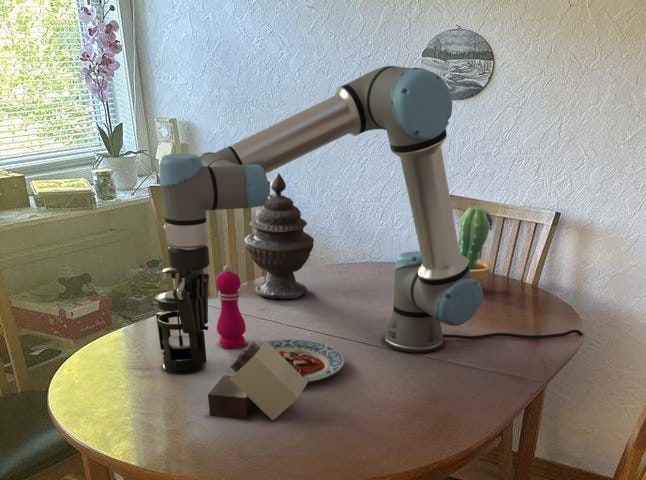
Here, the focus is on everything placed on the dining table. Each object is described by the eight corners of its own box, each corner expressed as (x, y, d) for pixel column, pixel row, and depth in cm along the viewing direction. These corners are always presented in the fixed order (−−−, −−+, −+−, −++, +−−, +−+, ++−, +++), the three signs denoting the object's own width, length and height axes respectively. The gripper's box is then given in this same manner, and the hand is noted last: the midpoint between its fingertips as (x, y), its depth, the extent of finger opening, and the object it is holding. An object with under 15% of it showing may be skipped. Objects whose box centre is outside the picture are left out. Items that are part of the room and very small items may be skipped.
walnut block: (261, 399, 153) (260, 378, 150) (246, 420, 144) (245, 398, 142) (225, 395, 154) (224, 374, 151) (209, 416, 145) (207, 394, 143)
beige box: (308, 406, 150) (306, 339, 142) (299, 423, 144) (296, 354, 136) (241, 400, 152) (235, 334, 144) (229, 416, 146) (222, 348, 138)
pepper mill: (241, 351, 175) (235, 270, 165) (213, 348, 177) (206, 268, 166) (250, 340, 181) (246, 262, 171) (224, 337, 183) (218, 260, 172)
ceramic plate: (301, 401, 152) (301, 388, 151) (212, 372, 164) (211, 360, 162) (364, 363, 171) (364, 351, 170) (279, 340, 182) (279, 329, 181)
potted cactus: (492, 297, 218) (503, 213, 204) (442, 296, 218) (450, 211, 204) (485, 283, 231) (495, 202, 217) (438, 281, 231) (446, 201, 217)
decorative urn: (277, 276, 227) (275, 160, 206) (326, 293, 218) (330, 174, 197) (232, 293, 214) (226, 172, 193) (283, 313, 205) (282, 187, 184)
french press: (214, 365, 167) (205, 268, 155) (185, 378, 160) (174, 278, 148) (179, 354, 173) (168, 259, 160) (149, 366, 166) (136, 268, 154)
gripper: (182, 235, 138) (193, 348, 151) (154, 251, 127) (169, 372, 140) (218, 238, 137) (227, 352, 150) (193, 255, 126) (205, 376, 139)
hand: (199, 361), depth 145 cm, fingers closed
